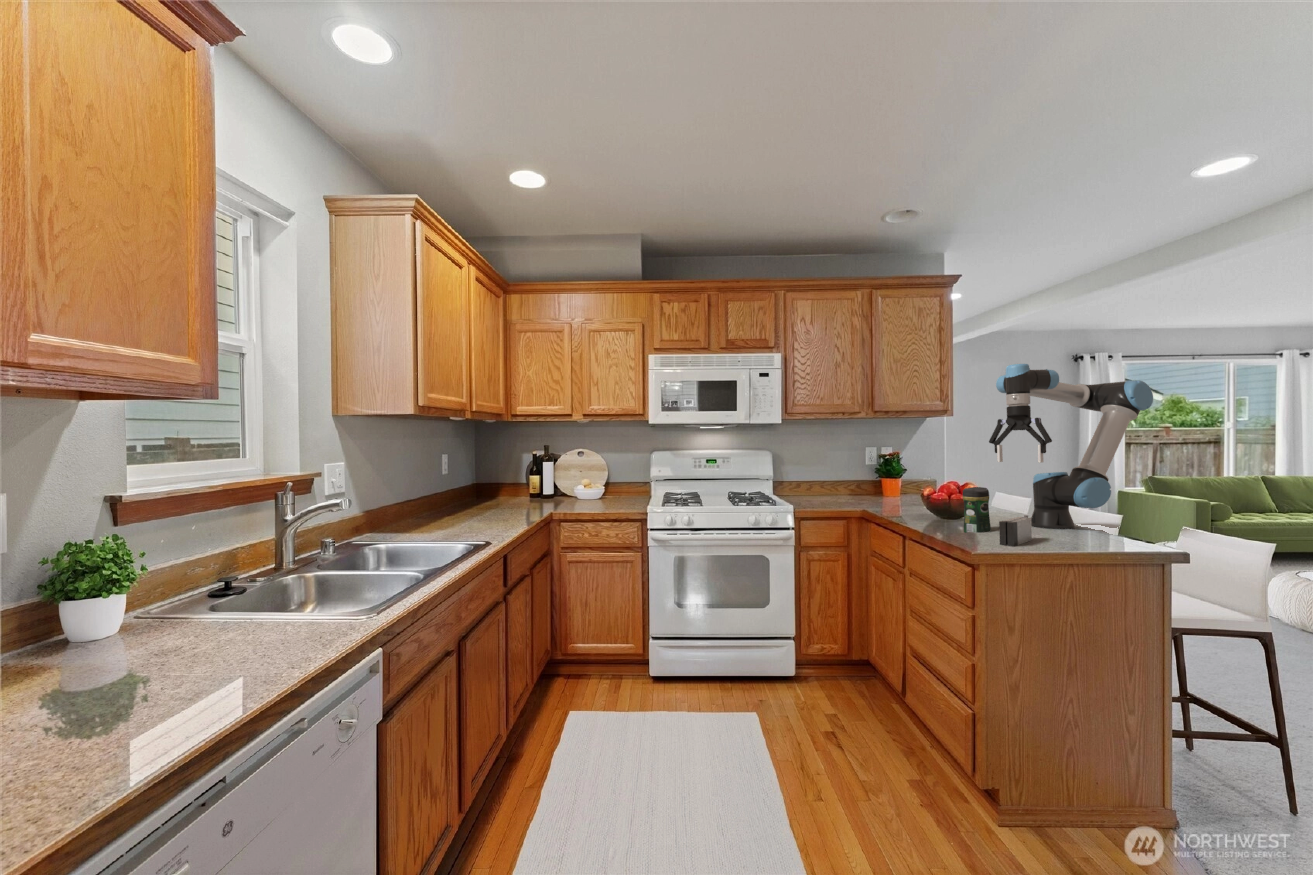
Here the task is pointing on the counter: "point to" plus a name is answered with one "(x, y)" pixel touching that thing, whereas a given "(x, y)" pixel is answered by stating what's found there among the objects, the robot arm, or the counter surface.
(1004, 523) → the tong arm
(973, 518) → the coffee jar
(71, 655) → the counter surface
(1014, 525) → the grey flat box
